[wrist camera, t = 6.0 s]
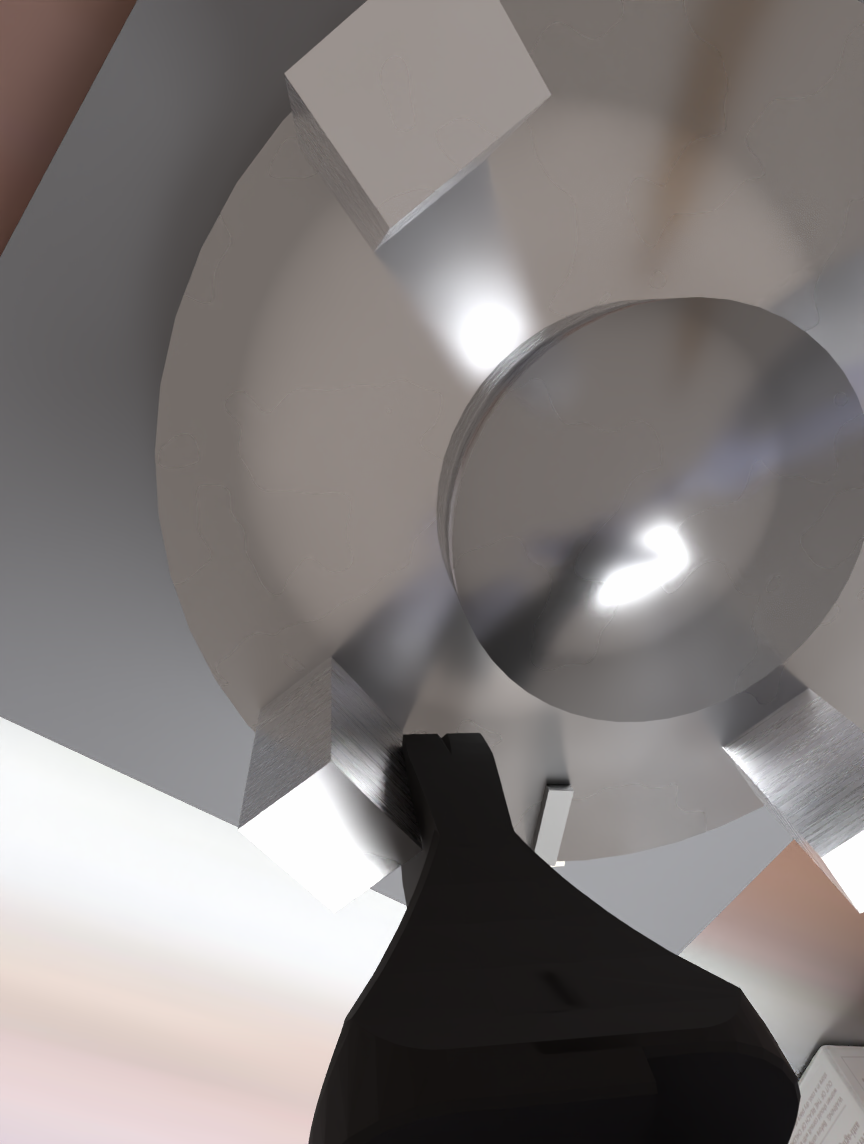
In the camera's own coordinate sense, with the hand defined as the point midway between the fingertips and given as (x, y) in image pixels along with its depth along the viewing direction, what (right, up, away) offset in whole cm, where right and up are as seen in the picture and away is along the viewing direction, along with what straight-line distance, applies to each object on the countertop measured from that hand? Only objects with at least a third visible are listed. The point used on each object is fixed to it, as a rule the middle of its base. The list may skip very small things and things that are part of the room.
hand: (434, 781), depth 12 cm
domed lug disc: (+3, +5, 0) cm, 6 cm away
